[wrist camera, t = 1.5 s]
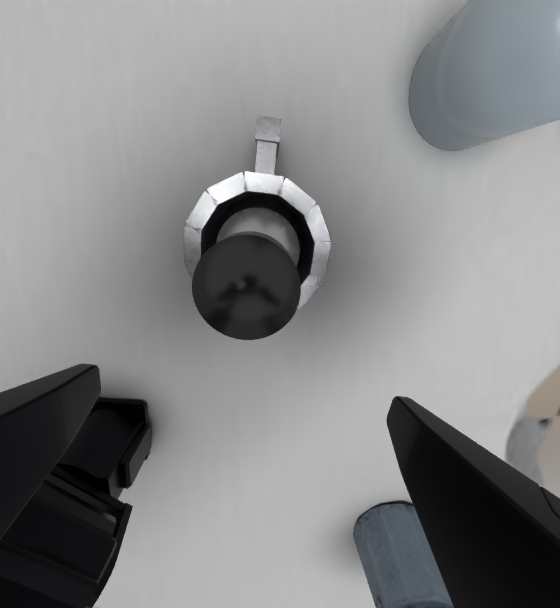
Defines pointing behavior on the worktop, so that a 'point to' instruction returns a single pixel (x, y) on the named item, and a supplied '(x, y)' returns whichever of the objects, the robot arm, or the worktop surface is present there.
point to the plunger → (249, 276)
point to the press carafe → (262, 194)
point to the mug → (488, 74)
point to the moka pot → (399, 559)
